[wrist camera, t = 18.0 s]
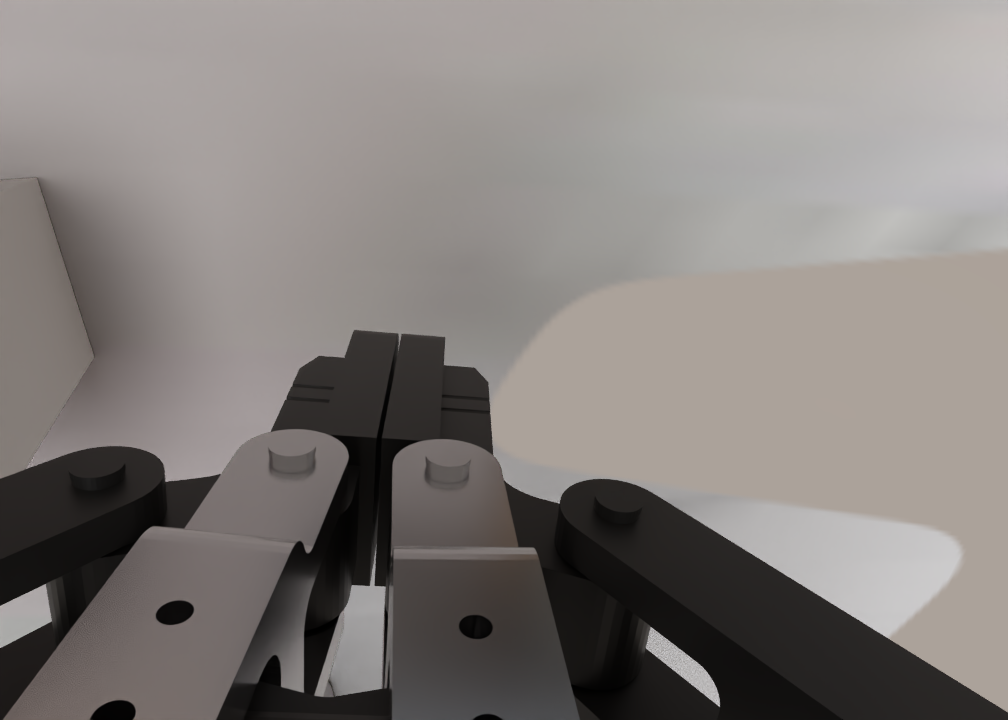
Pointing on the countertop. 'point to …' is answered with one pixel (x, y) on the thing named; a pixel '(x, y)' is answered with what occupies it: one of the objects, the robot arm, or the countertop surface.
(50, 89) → the countertop surface
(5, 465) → the soap bottle
